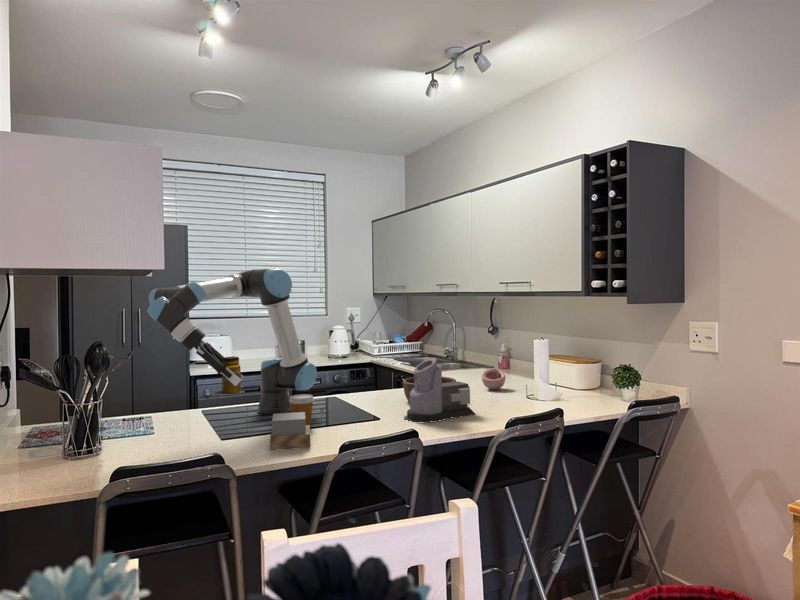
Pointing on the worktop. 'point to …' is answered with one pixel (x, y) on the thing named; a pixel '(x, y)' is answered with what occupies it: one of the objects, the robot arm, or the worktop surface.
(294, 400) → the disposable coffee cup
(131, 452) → the worktop surface
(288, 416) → the grey square block
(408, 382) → the wooden bowl
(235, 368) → the condiment
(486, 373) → the mortar and pestle
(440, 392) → the juicer
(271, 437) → the walnut base block
